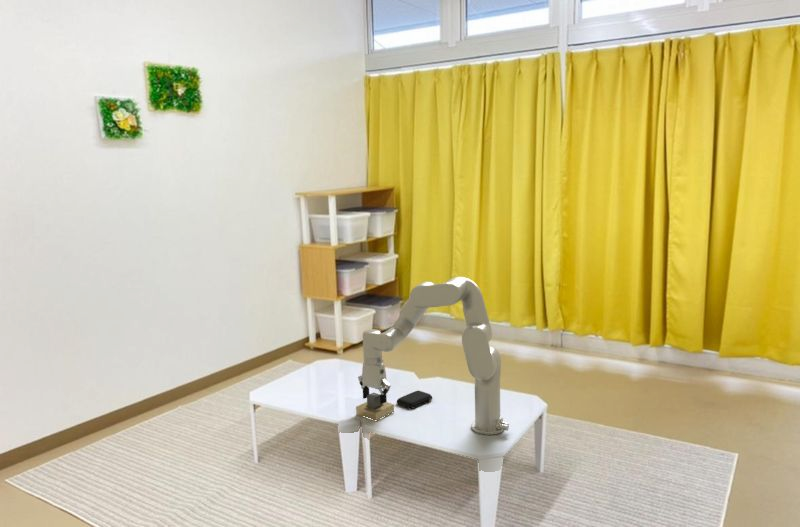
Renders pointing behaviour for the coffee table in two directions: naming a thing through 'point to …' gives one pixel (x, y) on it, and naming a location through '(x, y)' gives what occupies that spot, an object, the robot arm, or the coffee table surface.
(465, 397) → the coffee table surface
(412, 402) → the carrying case or bag
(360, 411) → the socket plate
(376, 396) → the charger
